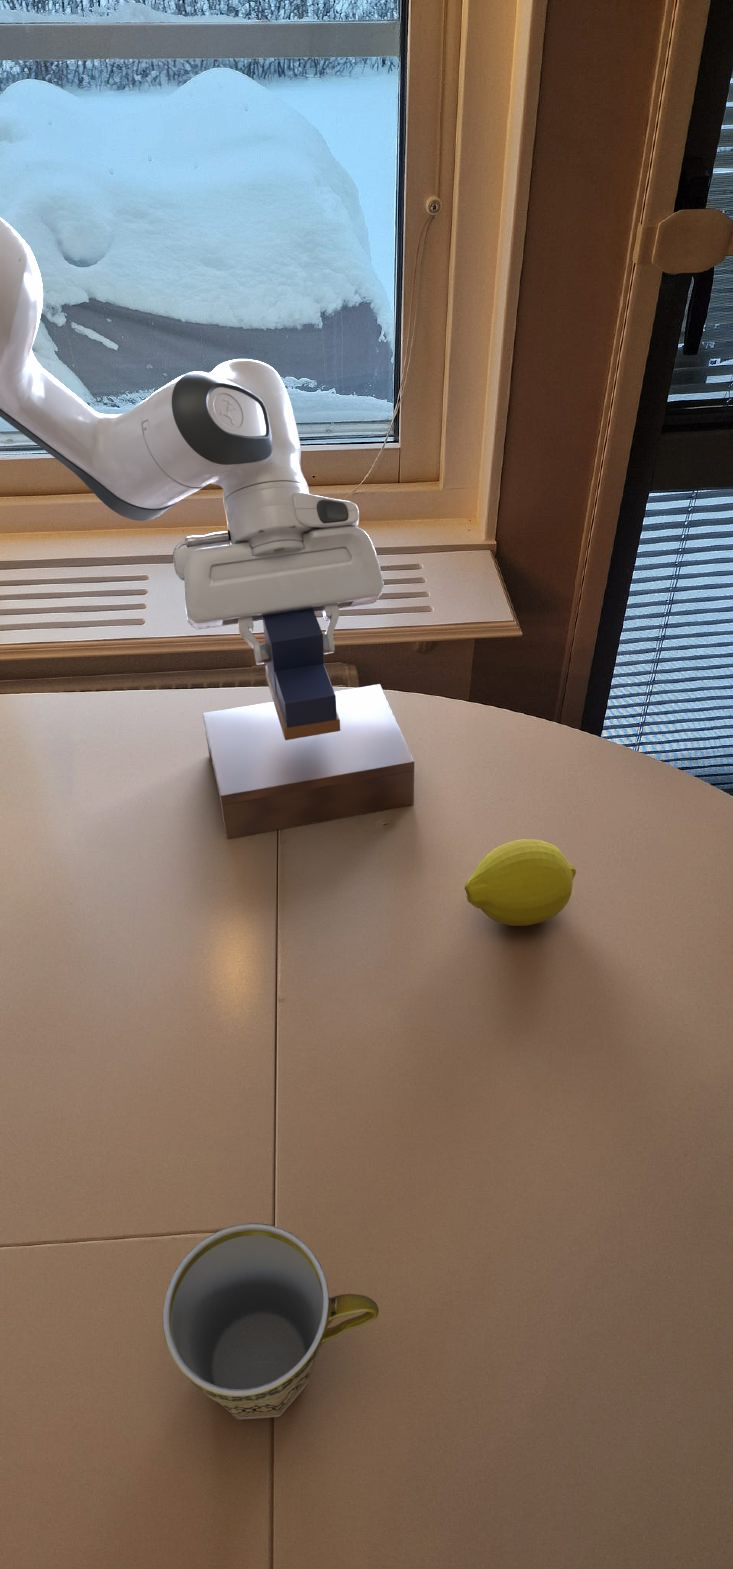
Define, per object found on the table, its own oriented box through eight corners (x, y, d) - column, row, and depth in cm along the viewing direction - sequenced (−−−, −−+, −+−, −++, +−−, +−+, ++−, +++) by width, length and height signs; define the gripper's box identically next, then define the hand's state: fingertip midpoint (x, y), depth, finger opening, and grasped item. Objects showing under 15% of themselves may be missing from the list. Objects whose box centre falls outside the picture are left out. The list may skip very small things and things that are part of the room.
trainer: (340, 731, 103) (337, 664, 97) (285, 740, 102) (278, 674, 96) (317, 669, 111) (313, 604, 105) (266, 677, 110) (259, 612, 104)
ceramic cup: (178, 1456, 65) (154, 1400, 58) (190, 1292, 72) (170, 1226, 66) (384, 1443, 65) (383, 1386, 59) (375, 1282, 73) (373, 1215, 66)
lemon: (560, 874, 102) (569, 815, 96) (584, 935, 96) (596, 875, 91) (452, 888, 101) (455, 829, 95) (470, 950, 95) (475, 891, 90)
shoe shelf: (226, 839, 106) (220, 796, 102) (208, 755, 117) (202, 712, 113) (413, 804, 110) (414, 761, 106) (380, 725, 120) (380, 683, 116)
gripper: (168, 529, 101) (193, 668, 100) (372, 502, 104) (397, 636, 103) (170, 548, 107) (193, 679, 106) (362, 522, 110) (386, 649, 110)
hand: (296, 658), depth 105 cm, fingers closed on trainer, 5 cm apart
